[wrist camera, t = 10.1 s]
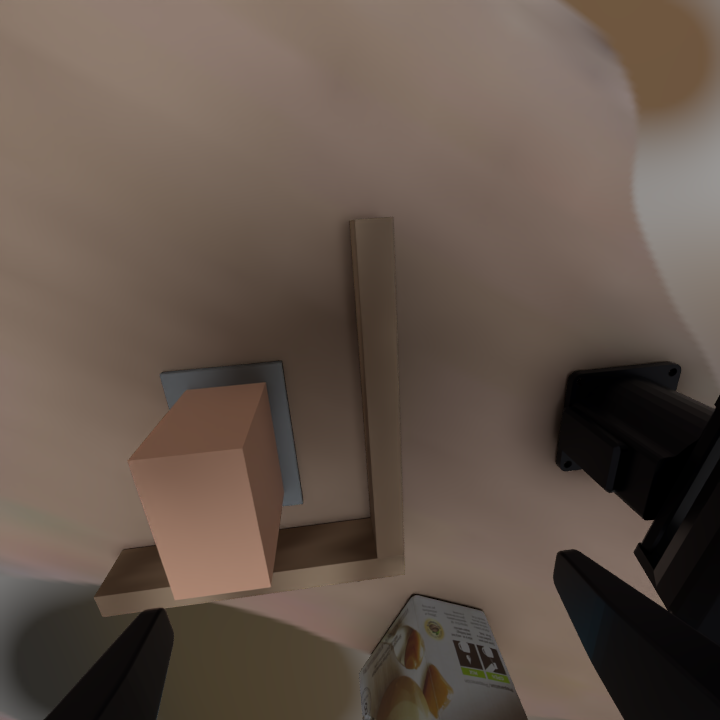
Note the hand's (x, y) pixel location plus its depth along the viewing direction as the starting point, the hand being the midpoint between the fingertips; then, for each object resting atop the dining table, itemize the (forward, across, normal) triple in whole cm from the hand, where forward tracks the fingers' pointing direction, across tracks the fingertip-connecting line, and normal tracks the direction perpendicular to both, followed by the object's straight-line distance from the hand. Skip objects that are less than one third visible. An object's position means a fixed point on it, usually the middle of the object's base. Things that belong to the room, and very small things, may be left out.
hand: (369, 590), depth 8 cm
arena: (+12, +6, +1) cm, 13 cm away
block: (+12, +6, +3) cm, 13 cm away
